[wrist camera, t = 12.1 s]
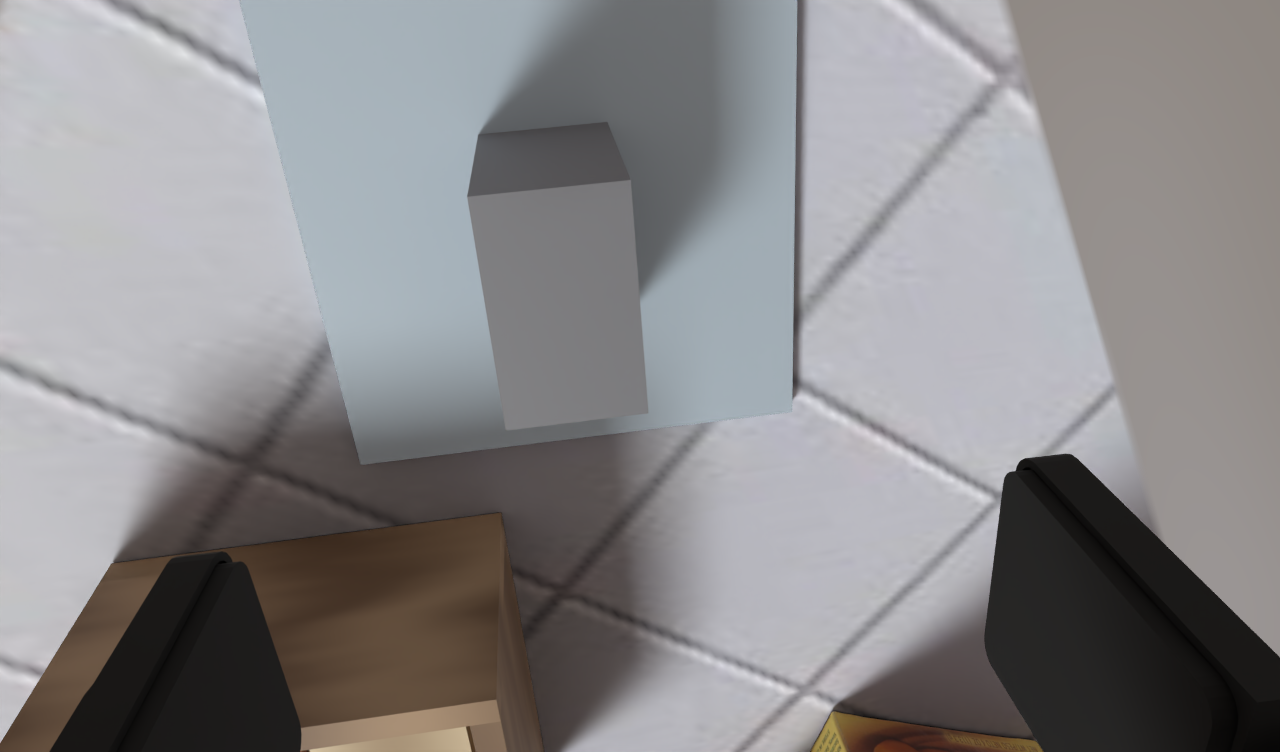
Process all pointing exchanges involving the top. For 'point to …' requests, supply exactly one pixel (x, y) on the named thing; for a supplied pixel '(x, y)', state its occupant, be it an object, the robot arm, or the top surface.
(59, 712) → the walnut box
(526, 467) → the top surface
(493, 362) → the lid
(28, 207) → the top surface
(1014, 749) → the candy box
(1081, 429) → the top surface
